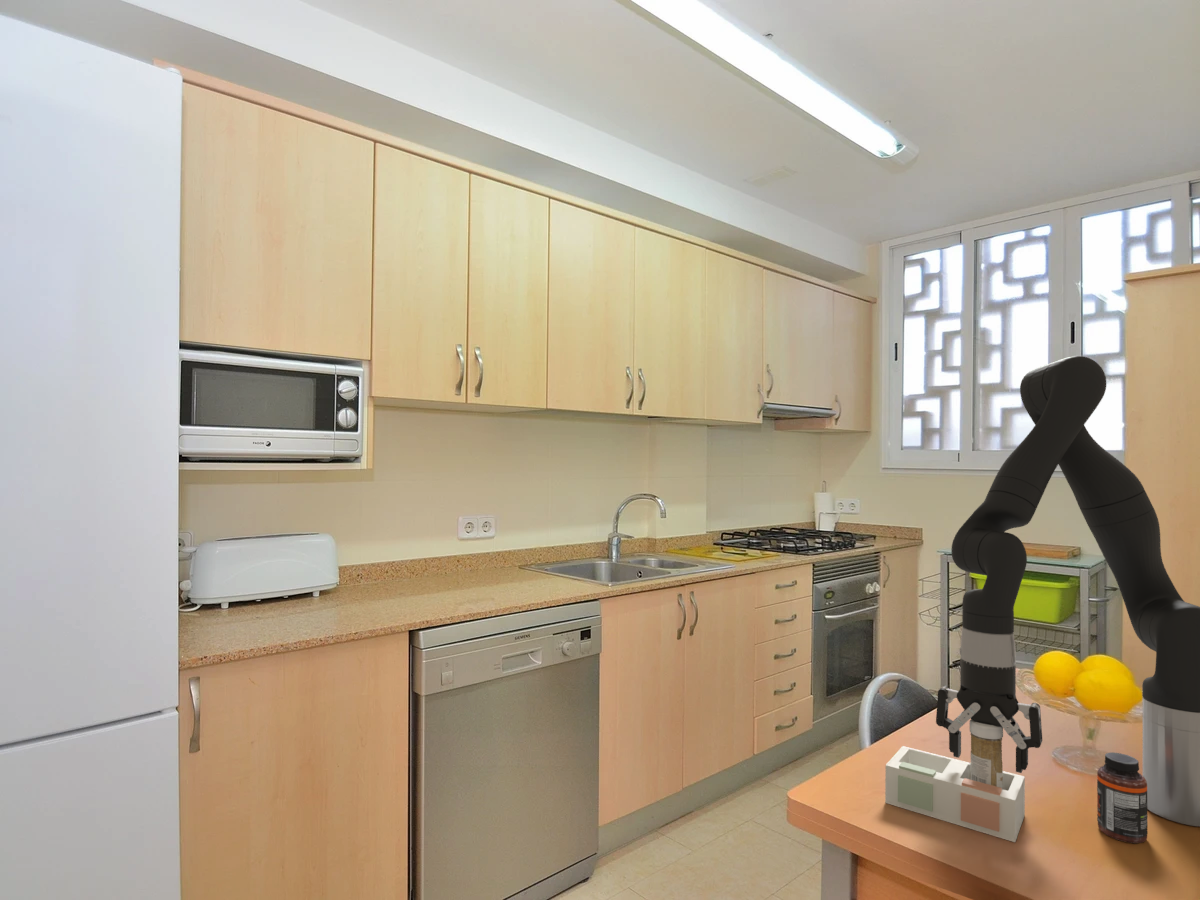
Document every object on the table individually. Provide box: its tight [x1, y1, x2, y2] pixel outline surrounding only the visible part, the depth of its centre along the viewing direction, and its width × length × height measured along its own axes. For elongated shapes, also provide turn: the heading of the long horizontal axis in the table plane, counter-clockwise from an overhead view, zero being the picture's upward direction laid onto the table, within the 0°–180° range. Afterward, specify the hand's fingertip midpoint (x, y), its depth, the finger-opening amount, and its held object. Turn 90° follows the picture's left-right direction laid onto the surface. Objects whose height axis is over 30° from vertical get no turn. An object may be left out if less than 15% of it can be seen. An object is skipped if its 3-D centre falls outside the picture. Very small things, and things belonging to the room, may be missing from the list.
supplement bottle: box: [1096, 751, 1148, 844], centre depth 102 cm, size 6×6×11 cm
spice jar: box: [969, 718, 1004, 789], centre depth 107 cm, size 5×5×14 cm
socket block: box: [884, 745, 1026, 843], centre depth 108 cm, size 18×10×6 cm, turn 52°
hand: (987, 763), depth 107 cm, fingers open, 8 cm apart
